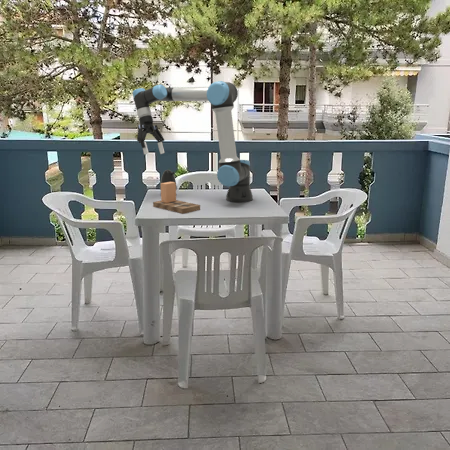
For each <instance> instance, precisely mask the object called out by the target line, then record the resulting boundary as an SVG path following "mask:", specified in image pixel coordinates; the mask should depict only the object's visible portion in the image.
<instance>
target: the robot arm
mask: <svg viewBox="0 0 450 450" xmlns="http://www.w3.org/2000/svg"><path fill="white" fill-rule="evenodd" d="M238 95H239V90H238V87H236V85H235V84H234V83H233V82H232V83H231V82H228V81H222V80H218V81H213V82H212V83H210V84H209V86H185V87H184V86H183V87H181V86H180V87H178V86H177V87H176V86H175V87H165V86H164V85H163V84H156V85H155V86H153V87H150V88H147V89H145V88H143V87H142V88H141V87H140V88H139V87H138V88H136V89H134V90H133V91H132V97H133V102H134V104H135V108H136V112H137V117H138V121H139V124H138V125H137V138H136V141H137V142H138V143H139V144H140V145H141V148H142V150H143V155H147V154H149V153H150V152H149V149H148V145H147V142H146V141H145V140H146V137H147V134H148V135H149V134H150V135H152V136H153V138H154V139H155V140H156V141H157V146H158V150H159V154H160V155H163V154H165V150H164V143H163V142H164V141H165V138H164V137H163V134H162V133H161V131H160V129H159V127H158V125H157V124H156V125H153V123H154V118H153V116H152V111H151V108H150V107H151V106H150V104H153V103H156V102H208V103H210V105H211V111H212V112H213V113H214V114H215V121H216V122H215V123H216V129H217V130H216V131H217V137H218V146H219V147H218V148H219V154H220V159H219V161H218V169H217V172H216V173H217V174H216V177H217V181H218V182H219V183H220V184H221V185H222V186H225V187H228V189H227V193H226V201H228V202H232V203H233V202H234V203H247V202H251V201H253V199H254V196H253V193H252V189H251V184H250V183H251V162H250V160H249V159H240V158H239V157H238V156H237V147H236V140H235V139H236V138H235V129H234V124H233V114H232V110H233V109H234V108H235V106H234V103H235V102H236V100H237V99H238Z"/></svg>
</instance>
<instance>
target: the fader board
mask: <svg viewBox="0 0 450 450" xmlns="http://www.w3.org/2000/svg"><path fill="white" fill-rule="evenodd" d="M152 206H153V207H154V208H159V209H161V210H166V211H171V212H174V213H177V214H178V213H179V214H181V215H183V214H188V213H192V212H196V211H200V210H201V205H200V204H196V203H192V202H187V201H183V200H179V199H176V201H173V202H168V203H164V202H161V200H158V201H157V200H156V201H153V202H152Z"/></svg>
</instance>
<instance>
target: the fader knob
mask: <svg viewBox="0 0 450 450" xmlns="http://www.w3.org/2000/svg"><path fill="white" fill-rule="evenodd" d="M176 185H177V182H176V183H175V182H166V183H161V190H160V201H161V202H164V203H168V202H173V201H176V200H177V189H176Z"/></svg>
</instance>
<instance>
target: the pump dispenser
mask: <svg viewBox="0 0 450 450" xmlns="http://www.w3.org/2000/svg"><path fill="white" fill-rule="evenodd" d="M174 174H176V172H175V171H172V170H170V169H166V170H164V171H163V173H162V175H161V179H160V183H159V190H160V191H161V183H166V182H175V183H176V190H178V186H177V181H176V177H175V175H174Z"/></svg>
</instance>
